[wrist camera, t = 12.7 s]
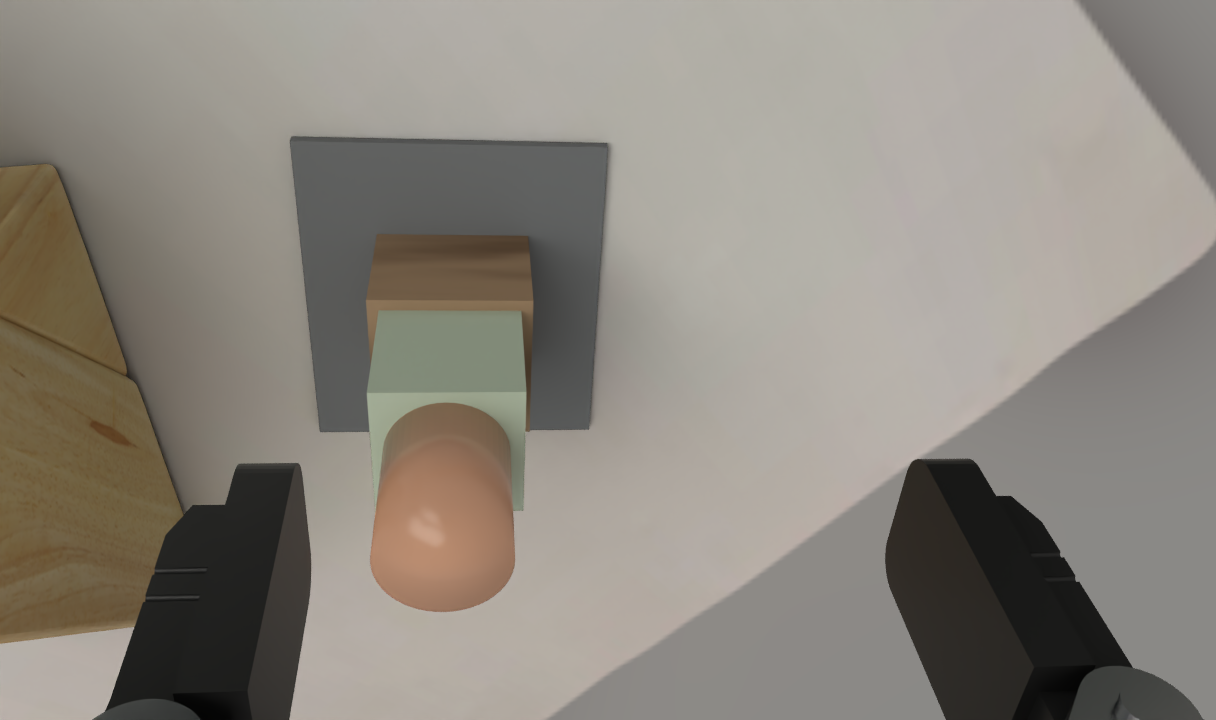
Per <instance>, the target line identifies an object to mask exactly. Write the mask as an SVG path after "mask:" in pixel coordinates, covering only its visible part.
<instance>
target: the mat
mask: <svg viewBox="0 0 1216 720" xmlns="http://www.w3.org/2000/svg"><path fill="white" fill-rule="evenodd" d="M290 147H291V157H292V166H293V176H294V186H295V195H296V205H297V214H298V224H299V234H300V243H301V253H302V263H303V272H304V282H305V292H306V301H307V311H308V321H309V330H310V340H311V350H312V359H313V369H314V379H315V388H316V398H317V408H318V417H319V427H320V432H369V418H368V404H367V388H368V381H369V374H370V367H371V366H370V351H369V337H368V322H367V308H366V297H367V291H368V285H369V279H370V273H371V267H372V261H373V255H374V249H375V243H376V236H377V234H413V235H505V236H528V240H529V252H530V265H531V277H532V289H533V334H532V368H531V402H530V430H586V429H589V423H590V408H591V393H592V379H593V364H594V349H595V334H596V319H597V304H598V289H599V274H600V259H601V244H602V229H603V214H604V199H605V184H606V169H607V154H608V146H607V143H570V142H522V141H474V140H426V139H378V138H330V137H291V139H290Z"/></svg>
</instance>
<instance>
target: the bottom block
mask: <svg viewBox="0 0 1216 720" xmlns="http://www.w3.org/2000/svg"><path fill="white" fill-rule="evenodd" d="M366 308H367V322H368V337H369V351H370V366H371V360H372V353H373V346H374V339H375V332H376V325H377V318H378V311H379V310H427V311H521V313H522V329H523V345H524V361H525V377H526V428H525V432H530V402H531V368H532V334H533V289H532V277H531V265H530V252H529V240H528V236H505V235H413V234H377V236H376V243H375V249H374V255H373V261H372V267H371V273H370V279H369V285H368V291H367V297H366Z"/></svg>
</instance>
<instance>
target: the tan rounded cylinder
mask: <svg viewBox="0 0 1216 720" xmlns="http://www.w3.org/2000/svg"><path fill="white" fill-rule="evenodd" d="M370 564H371V570H372V573H373V576H374V578H375V579H376V581H377V583H378V584H379V586H380V587H381V588H382V589H383V590H384V591H385V592H386V593H387V594H388V595H390V596H391V597H392V598H394V599H395V600H397V601H399V602H401V603H403V604H405V605H407V606H410V607H413V608H416V609H421V610H425V611H434V612H450V611H458V610H463V609H467V608H471V607H474V606H476V605H479V604H481V603H483V602H485V601H487V600H489V599H490V598H492V597H493V596H495V595H496V594H497V593H498V592H499V591H500V590H501V589H502V588H503V587H504V586H505V585H506V583H507V582H508V581H509V579H510V577H511V575H512V573H513V569H514V565H515V546H514V521H513V495H512V470H511V448H510V443H509V439H508V437H507V435H506V433H505V431H504V429H503V428H502V427H501V426H500V424H499V423H498V422H497V421H496V420H495V419H494V418H492V417H491V416H490V415H488V414H487V413H485V412H483V411H481V410H479V409H477V408H474V407H472V406H468V405H464V404H458V403H435V404H429V405H425V406H422V407H419V408H417V409H414V410H412V411H410V412H408V413H407V414H405V415H404V416H402V417H401V418H400V419H399V420H398V421H397V422H395V423H394V425H393V426H392V427H391V428H390V430H389V432H388V433H387V435H386V438H385V441H384V445H383V451H382V460H381V469H380V477H379V486H378V495H377V503H376V512H375V521H374V529H373V538H372V547H371V555H370Z"/></svg>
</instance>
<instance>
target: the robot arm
mask: <svg viewBox="0 0 1216 720" xmlns="http://www.w3.org/2000/svg"><path fill="white" fill-rule="evenodd" d="M885 563H886V573H887V579H888V583H889V587H890V589H891V592H892V594H893V597H894V599H895V601H896V603H897V606H898V608H899V610H900V613H901V615H902V618H903V620H904V622H905V624H906V627H907V629H908V632H909V634H910V636H911V639H912V641H913V643H914V646H915V648H916V650H917V653H918V655H919V658H920V660H921V662H922V665H923V667H924V669H925V671H926V674H927V676H928V679H929V681H930V683H931V686H932V688H933V690H934V693H935V695H936V697H937V700H938V702H939V704H940V707H941V709H942V711H943V714H944V716H945V718H946V720H1203V718H1202V717H1201V715H1200V713H1199V712H1198V710H1197V709H1196V707H1195V706H1194V705H1193V704H1192V702H1191V701H1190V700H1189V699H1188V698H1187V697H1186V696H1185V695H1184V694H1182V693H1181V692H1180V691H1179V690H1178V689H1176V688H1175V687H1174V686H1172V685H1171V684H1169V683H1168V682H1166V681H1164V680H1163V679H1161V678H1159V677H1157V676H1155V675H1153V674H1150V673H1148V672H1145V671H1142V670H1139V669H1135V668H1133V667H1132V665H1131V664H1130V662H1129V661H1128V659H1127V657H1126V656H1125V654H1124V653H1123V651H1122V649H1121V648H1120V646H1119V645H1118V643H1117V642H1116V640H1115V638H1114V637H1113V635H1112V633H1111V632H1110V630H1109V629H1108V627H1107V625H1106V624H1105V622H1104V621H1103V619H1102V617H1101V616H1100V614H1099V613H1098V611H1097V609H1096V608H1095V606H1094V605H1093V603H1092V601H1091V600H1090V598H1089V597H1088V595H1087V593H1086V592H1085V590H1084V589H1083V587H1082V585H1081V584H1080V582H1076V581H1075V574H1074V573H1073V571H1072V570H1071V568H1070V566H1069V565H1068V563H1067V561H1066V560H1065V558H1064V557H1063V558H1061V557H1060V550H1059V549H1058V547H1057V545H1056V544H1055V542H1054V541H1053V539H1052V537H1051V536H1050V534H1049V533H1048V531H1047V529H1046V528H1045V526H1044V525H1043V523H1042V522H1041V521H1040V520H1039V519H1038V518H1036V517H1035V516H1034V515H1033V514H1032V513H1031V512H1029V511H1028V510H1027V509H1026V508H1024V507H1023V506H1022V505H1021V504H1020V503H1018V502H1017V501H1016V500H1015V499H1014V498H1013V497H1011V496H996V495H995V493H994V492H993V490H992V488H991V487H990V485H989V483H988V482H987V480H986V478H985V477H984V475H983V473H982V472H981V470H980V468H979V467H978V465H977V464H976V463H975V462H974V461H973V460H971V459H916V460H914V461H913V462H912V463H911V464H910V466H909V468H908V471H907V474H906V477H905V481H904V484H903V488H902V491H901V495H900V498H899V502H898V505H897V509H896V512H895V516H894V519H893V523H892V526H891V530H890V533H889V537H888V540H887V545H886V554H885ZM154 569H155V572H154V575H152V577H151V580H150V583H149V586H148V589H147V592H146V595H145V596H146V599H145V602H143V604H142V606H141V609H140V612H139V615H138V618H137V621H136V624H135V627H134V630H133V633H132V636H131V639H130V642H129V645H128V648H127V651H126V654H125V657H124V660H123V663H122V666H121V669H120V672H119V675H118V678H117V681H116V684H115V687H114V690H113V693H112V696H111V699H110V701H109V704H108V706H107V708H106V710H105V712H104V713H102V714H100V715H99V716H97V717H95V718H94V719H93V720H289V718H290V712H291V706H292V700H293V694H294V688H295V682H296V676H297V670H298V664H299V658H300V652H301V646H302V640H303V634H304V628H305V622H306V616H307V610H308V604H309V597H310V587H311V551H310V542H309V533H308V524H307V515H306V505H305V496H304V487H303V478H302V471H301V467H300V465H299V464H298V463H264V464H238V465H237V467H236V469H235V472H234V476H233V479H232V483H231V486H230V490H229V493H228V497H227V501H226V504H225V505H193V506H192V507H191V508H190V509H189V510H188V511H187V512H186V513H185V514H184V516H183V517H182V518H181V519H180V520H179V521H178V522H177V523H176V524H175V525H174V526H173V527H172V528H171V529H170V531H169V532H168V533H167V534H166V535H165V538H164V541H163V544H162V547H161V550H160V553H159V556H158V559H157V562H156V565H155V568H154Z"/></svg>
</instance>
